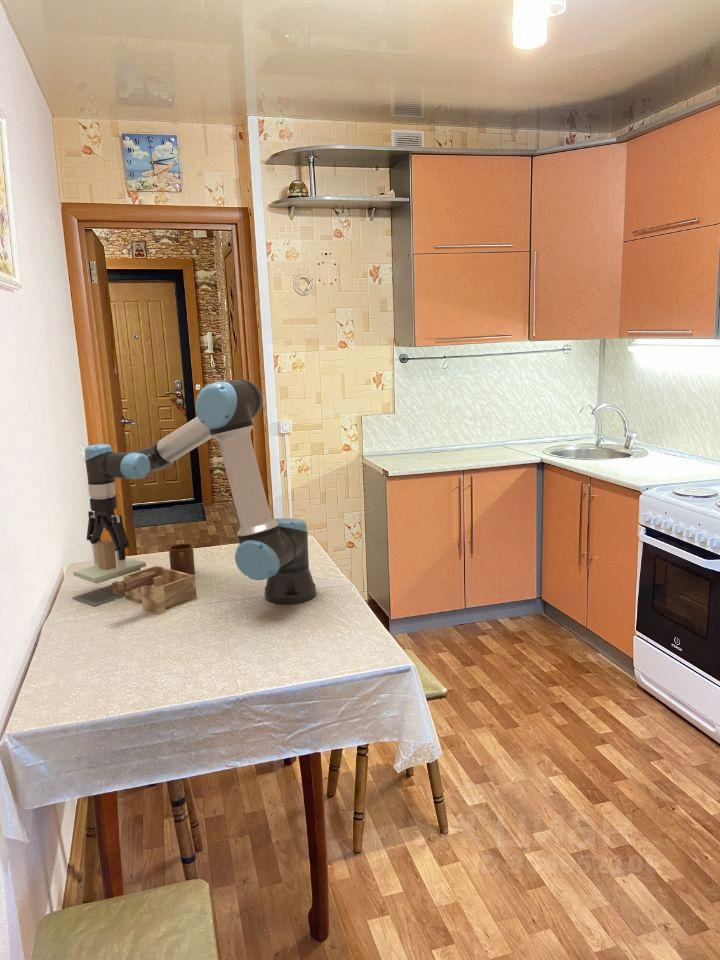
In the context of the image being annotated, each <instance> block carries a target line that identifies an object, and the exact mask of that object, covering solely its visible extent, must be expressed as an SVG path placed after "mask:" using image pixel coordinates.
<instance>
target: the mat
mask: <svg viewBox="0 0 720 960" xmlns="http://www.w3.org/2000/svg"><path fill="white" fill-rule="evenodd" d="M121 598H125V594H123V595H118V594H115V593H113V586H112V584H109V585H105V586H104V587H100V588H97V589H95V590H91V591H88V592H85V593H82V594H79V595H75V596H72V597H71V599H72V600H75V601H78V602H80V603H83V604H85V605H89V606H92V607H94V608H95V607H98V606H101V605H103V604H107V603H110V602H112V601H115V599H116V600H118V599H121Z"/></svg>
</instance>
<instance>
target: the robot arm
mask: <svg viewBox="0 0 720 960" xmlns="http://www.w3.org/2000/svg"><path fill="white" fill-rule="evenodd" d="M263 405H264V397H263V393H262V390H261V389H260V387H258V385H256V384H255V383H254V382H253V381H251V380H249V379H232V380H220V381H216V382H212V383H208V384H207V385H205V386H204V387H203V388H201V390H200V391H199V393H198V395H197V397H196V400H195V413H196V416H195V417H194V418H193V419H191V420H189V421H188V422H187V423H185V424H183V425H182V426H180V427H178V428H177V429H175V430H173V431H172V432H170V433H169V434H168V435H165V436H164V437H163V438H161V439H160V440H158V441H156V442H155V443H153V444H152V445H150V446H148V447H144V448H140V449H136V450H135V449H134V450H132V451H126V452H118V451H117V452H115V451H113V449H112V448H113V447H112V445H110V444H109V443H108V444H107V443H99V444H91V445H88V446H86V447H85V449H84V457H85V458H84V462H85V467H86V475H87V487H88V496H89V497H90V498H89V507H90V510H89V511H88V513H87V514H88V523H87V529H86V530H87V531H86V540H87V541H89V542H90V544H91V548H92V554H93V555H92V556H93V565H98V564H99V559H98V549H97V543H98V542H102V539H101V536H102V534H103V532H104V531H103V530H104V528H105V530H106V531H107V532H108V534H109V536H110V539H112V540H113V542H114V544H115V547H116V549H115V557H116V567H117V571H118V572H119V571H122V570H125V569H126V562H125V557H126V549H127V548H130V544H129V540H128V537H127V533H126V530H125V526H124V523H123V517H122V515H121V514H119V515H116V514H115V509H117V508H118V503H117V502H118V501H117V499H118V498H117V496H116V494H117V493H116V482H115V481H116V480H115V479H126V480H128V479H129V480H141V479H144V478H145V477H147V475H148V474H151V473H153V472H157V471H162V470H164V469H167V468H169V467H171V466H172V465H173V463H174V461H176V460H178V459H180V458H181V457H183V456H184V455H186V454H187V453H189V452H191V451H193V450H194V449H196V448H197V447H199V446H201V445H203V444H204V443H206V442H207V441H209V440H210V439H212V438H213V439H214V440H216V441H217V443H218V446H219V449H220V453H221V456H222V460H223V464H224V469H225V471H226V476H227V479H228V483H229V487H230V490H231V495H232V498H233V502H234V506H235V508H236V513H237V518H238V521H239V524H240V527H239V530H238V532H236V536H237V540H238V544H239V545H238V546H237V549H236V551H235V553H234V561H235V564H236V566H237V568H238V570H239V571H240V573H242V574H243V575H244V576H246V577H248V579H251V580H254V581H264V580H265V581H266V585H265V587H264V598H265V600H266V601H267V602H270V603H273V604H281V605H289V604H290V605H291V604H300V603H303V602H308V601H309V600H312V599H313V598H315V597H316V595H317V586H316V583H315V582H314V579H313V576H312V573H311V571H310V565H309V564H310V563H309V562H310V561H309V542H308V539H309V537H308V533H309V531H308V526H307V522H306V521H305V520H304V519H301V518H294V517H293V518H292V517H291V518H289V517H288V518H287V517H286V518H284V517H283V518H282V517H281V518H272V516H271V511H270V507H269V504H268V499H267V495H266V493H265V488H264V484H263V480H262V477H261V476H262V475H261V473H260V469H259V464H258V461H257V457H256V453H255V450H254V445H253V442H252V438H251V432H252V430H253V428H254V423H253V422H254V421H253V419H254V418H256V417H257V416H258V415H259V414H260V412H261V411H262V408H263Z"/></svg>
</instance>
